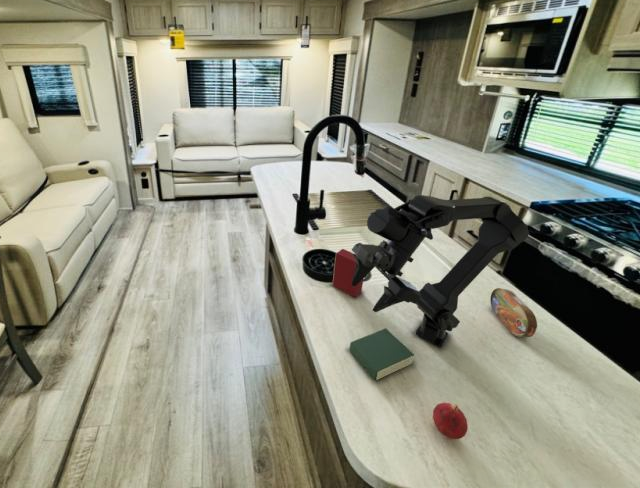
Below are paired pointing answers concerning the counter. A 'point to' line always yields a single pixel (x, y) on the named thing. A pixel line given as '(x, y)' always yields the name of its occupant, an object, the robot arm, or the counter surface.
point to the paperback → (346, 273)
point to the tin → (513, 313)
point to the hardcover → (381, 353)
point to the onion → (450, 420)
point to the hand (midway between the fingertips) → (362, 297)
